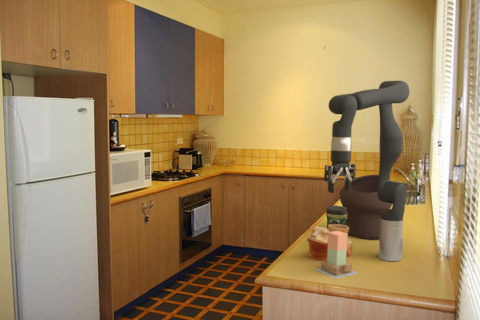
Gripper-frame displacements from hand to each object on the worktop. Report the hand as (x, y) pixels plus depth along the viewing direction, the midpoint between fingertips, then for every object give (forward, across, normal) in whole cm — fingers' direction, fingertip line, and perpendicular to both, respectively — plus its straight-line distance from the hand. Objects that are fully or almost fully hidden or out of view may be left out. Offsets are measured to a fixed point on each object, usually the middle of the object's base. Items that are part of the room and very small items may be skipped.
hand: (339, 191), depth 174 cm
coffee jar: (+32, +29, +29) cm, 52 cm away
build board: (+32, 0, 0) cm, 32 cm away
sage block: (+28, 0, 0) cm, 28 cm away
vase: (+32, +55, +34) cm, 72 cm away
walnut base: (+31, 0, 0) cm, 31 cm away
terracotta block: (+22, 0, 0) cm, 22 cm away
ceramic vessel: (+32, +12, +16) cm, 38 cm away
